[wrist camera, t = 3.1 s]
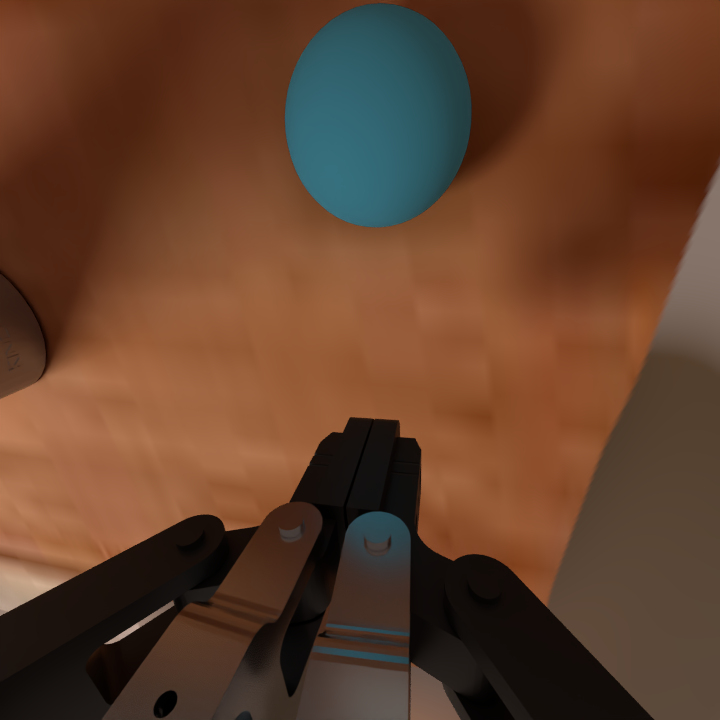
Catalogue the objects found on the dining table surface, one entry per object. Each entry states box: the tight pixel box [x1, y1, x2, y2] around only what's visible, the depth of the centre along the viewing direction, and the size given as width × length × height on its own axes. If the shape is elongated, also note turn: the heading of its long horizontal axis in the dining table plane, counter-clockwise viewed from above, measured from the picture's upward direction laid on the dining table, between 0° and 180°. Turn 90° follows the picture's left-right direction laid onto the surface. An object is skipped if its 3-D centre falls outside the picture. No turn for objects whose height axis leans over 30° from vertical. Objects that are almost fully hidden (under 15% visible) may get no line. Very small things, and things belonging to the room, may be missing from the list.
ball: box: [285, 3, 472, 227], centre depth 12 cm, size 6×6×6 cm
